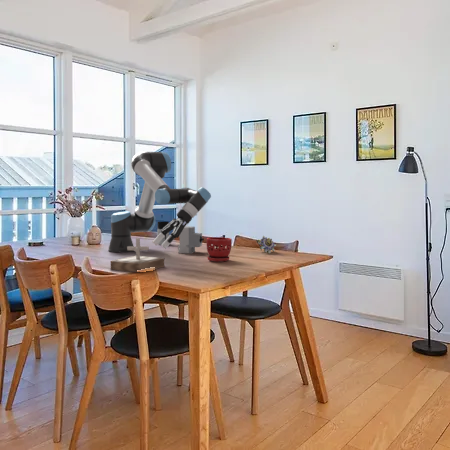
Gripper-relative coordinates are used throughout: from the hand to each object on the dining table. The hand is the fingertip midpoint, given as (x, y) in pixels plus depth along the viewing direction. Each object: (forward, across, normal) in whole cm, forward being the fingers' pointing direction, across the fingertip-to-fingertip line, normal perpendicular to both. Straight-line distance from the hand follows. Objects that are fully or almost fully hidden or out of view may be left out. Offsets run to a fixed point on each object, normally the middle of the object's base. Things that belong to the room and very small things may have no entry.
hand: (158, 245), depth 229 cm
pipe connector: (+12, 0, +3) cm, 12 cm away
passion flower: (-42, +15, -58) cm, 73 cm away
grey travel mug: (-15, +79, -30) cm, 86 cm away
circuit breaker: (-15, +36, -30) cm, 50 cm away
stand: (+15, 0, 0) cm, 15 cm away
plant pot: (-16, +2, -31) cm, 35 cm away
